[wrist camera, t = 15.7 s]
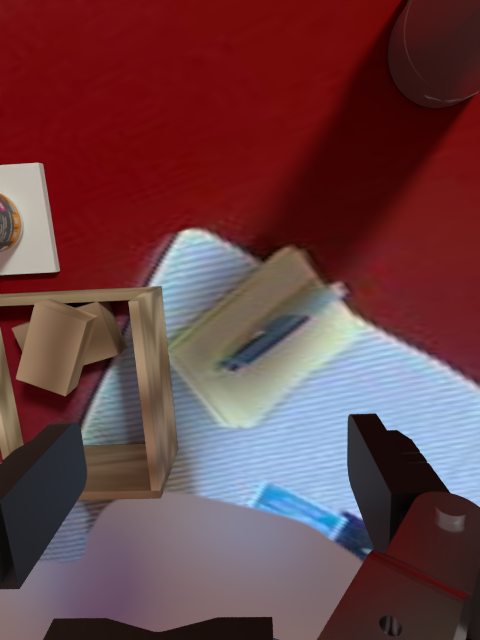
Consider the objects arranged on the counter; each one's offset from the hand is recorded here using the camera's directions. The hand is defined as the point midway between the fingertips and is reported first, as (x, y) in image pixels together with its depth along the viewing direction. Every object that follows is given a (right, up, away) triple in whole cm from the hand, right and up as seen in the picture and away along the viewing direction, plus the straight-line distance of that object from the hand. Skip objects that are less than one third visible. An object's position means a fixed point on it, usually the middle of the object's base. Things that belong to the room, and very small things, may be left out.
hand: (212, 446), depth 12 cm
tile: (-22, +13, +27) cm, 37 cm away
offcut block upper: (-16, +1, +27) cm, 31 cm away
